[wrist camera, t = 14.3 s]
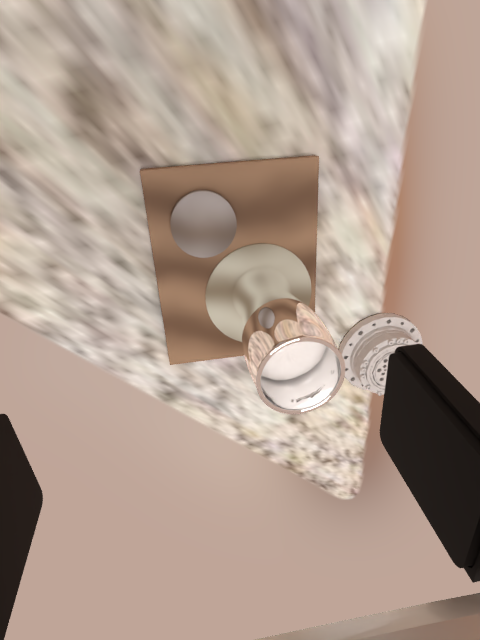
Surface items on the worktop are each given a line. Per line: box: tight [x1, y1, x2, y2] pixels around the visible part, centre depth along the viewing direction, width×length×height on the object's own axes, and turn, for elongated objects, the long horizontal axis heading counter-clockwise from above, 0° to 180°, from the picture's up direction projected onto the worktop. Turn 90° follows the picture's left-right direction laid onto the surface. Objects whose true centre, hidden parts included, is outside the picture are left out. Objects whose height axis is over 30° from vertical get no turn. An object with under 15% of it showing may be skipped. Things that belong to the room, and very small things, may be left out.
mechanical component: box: [339, 313, 422, 396], centre depth 49 cm, size 10×4×10 cm
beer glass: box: [232, 267, 345, 414], centre depth 37 cm, size 7×7×15 cm
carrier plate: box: [140, 155, 319, 365], centre depth 42 cm, size 20×16×2 cm
